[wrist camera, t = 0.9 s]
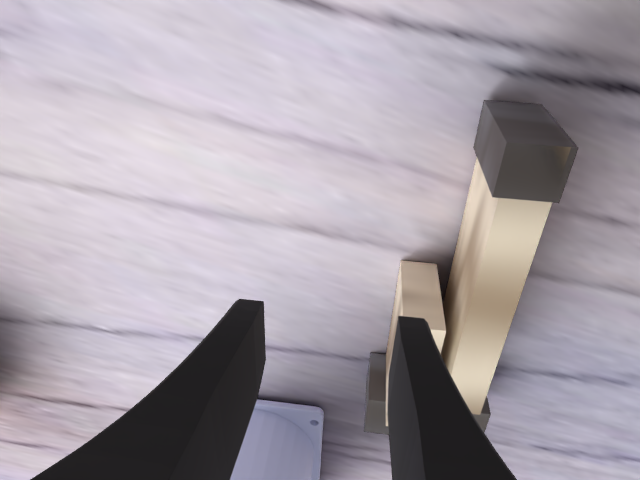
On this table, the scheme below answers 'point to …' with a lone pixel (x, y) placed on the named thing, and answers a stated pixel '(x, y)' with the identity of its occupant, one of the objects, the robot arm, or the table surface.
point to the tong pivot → (411, 301)
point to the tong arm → (500, 236)
